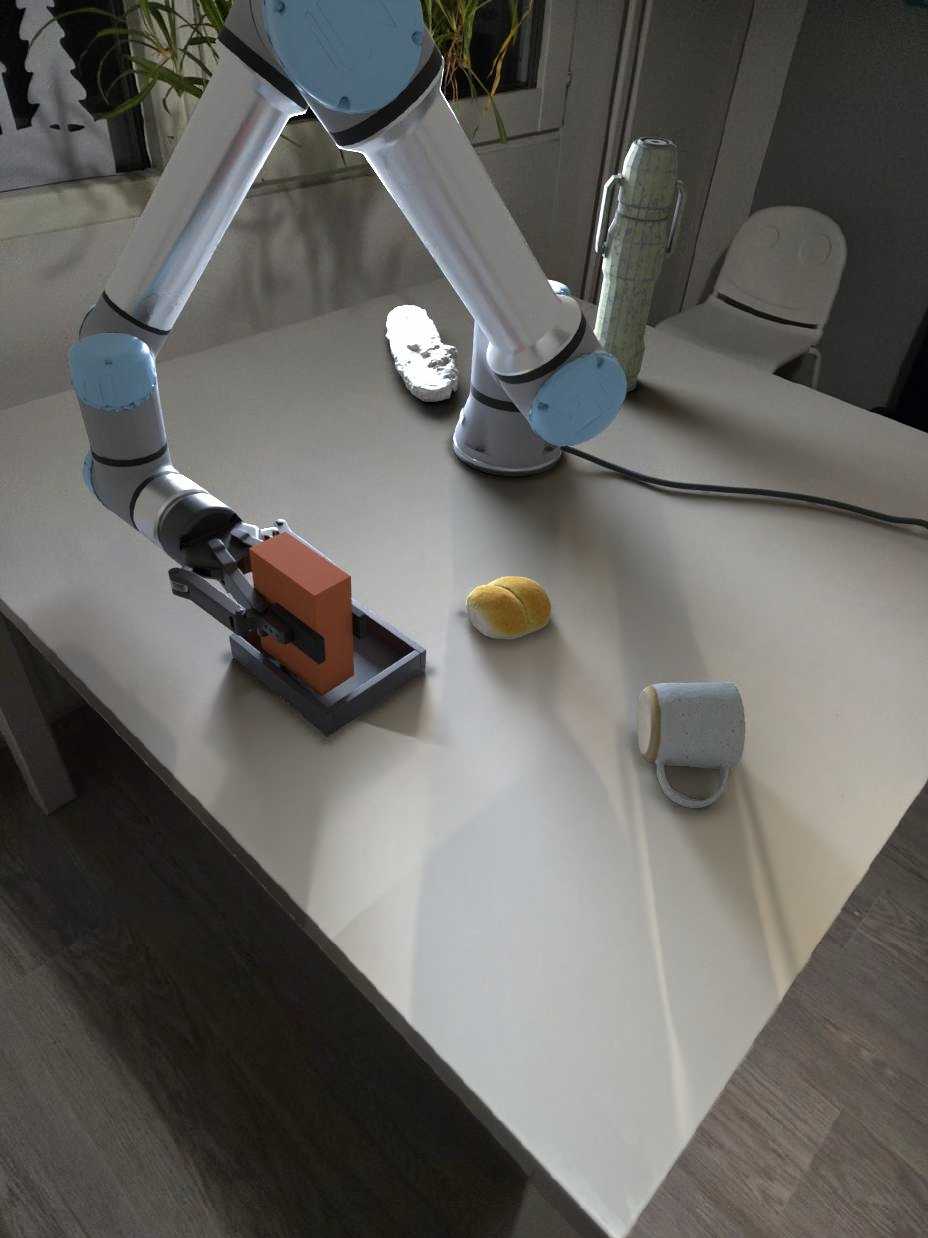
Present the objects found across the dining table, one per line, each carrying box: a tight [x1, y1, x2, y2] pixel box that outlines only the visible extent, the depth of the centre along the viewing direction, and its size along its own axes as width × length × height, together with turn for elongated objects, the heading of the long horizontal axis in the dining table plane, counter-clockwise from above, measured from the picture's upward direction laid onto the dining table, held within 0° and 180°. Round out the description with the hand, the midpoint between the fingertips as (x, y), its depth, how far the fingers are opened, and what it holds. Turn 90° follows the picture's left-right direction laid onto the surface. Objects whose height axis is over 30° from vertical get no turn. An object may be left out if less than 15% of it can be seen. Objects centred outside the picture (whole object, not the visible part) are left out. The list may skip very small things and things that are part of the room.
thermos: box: [593, 136, 689, 393], centre depth 124 cm, size 9×12×35 cm
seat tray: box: [228, 597, 427, 738], centre depth 81 cm, size 13×15×3 cm
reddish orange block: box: [249, 531, 354, 696], centre depth 75 cm, size 4×9×12 cm, turn 47°
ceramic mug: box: [636, 681, 746, 809], centre depth 72 cm, size 11×8×8 cm
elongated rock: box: [385, 304, 460, 403], centre depth 136 cm, size 35×5×10 cm
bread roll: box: [465, 576, 552, 640], centre depth 88 cm, size 8×9×4 cm
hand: (342, 638), depth 72 cm, fingers closed on reddish orange block, 4 cm apart
